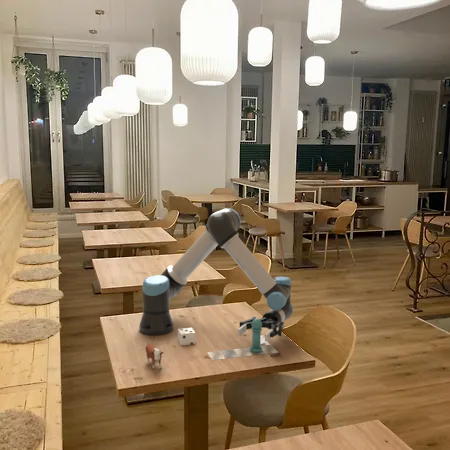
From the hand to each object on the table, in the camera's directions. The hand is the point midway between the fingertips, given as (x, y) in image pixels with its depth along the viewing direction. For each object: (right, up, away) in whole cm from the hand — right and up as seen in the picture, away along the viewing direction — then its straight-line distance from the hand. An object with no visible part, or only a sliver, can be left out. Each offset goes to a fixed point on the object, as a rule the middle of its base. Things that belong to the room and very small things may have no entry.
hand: (251, 335), depth 191 cm
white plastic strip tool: (+5, -7, +16) cm, 18 cm away
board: (-3, -9, +3) cm, 10 cm away
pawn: (+2, -7, +5) cm, 9 cm away
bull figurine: (-37, -10, -7) cm, 39 cm away
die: (-27, -7, +13) cm, 30 cm away
